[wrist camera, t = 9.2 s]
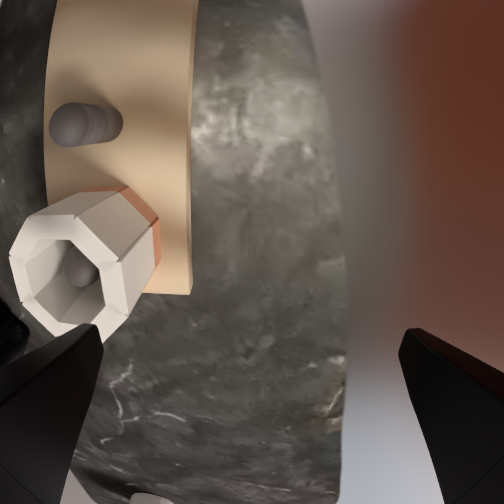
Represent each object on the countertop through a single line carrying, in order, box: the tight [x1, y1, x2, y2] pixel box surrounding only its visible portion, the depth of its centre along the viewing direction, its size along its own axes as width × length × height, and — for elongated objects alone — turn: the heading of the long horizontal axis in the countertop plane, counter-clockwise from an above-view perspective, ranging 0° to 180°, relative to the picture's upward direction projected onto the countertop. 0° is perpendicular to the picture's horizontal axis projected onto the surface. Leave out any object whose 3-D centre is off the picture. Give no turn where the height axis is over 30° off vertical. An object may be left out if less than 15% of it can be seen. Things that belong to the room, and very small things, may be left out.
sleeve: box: [9, 186, 162, 343], centre depth 14 cm, size 6×6×6 cm
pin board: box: [44, 0, 199, 295], centre depth 13 cm, size 20×9×6 cm, turn 178°
